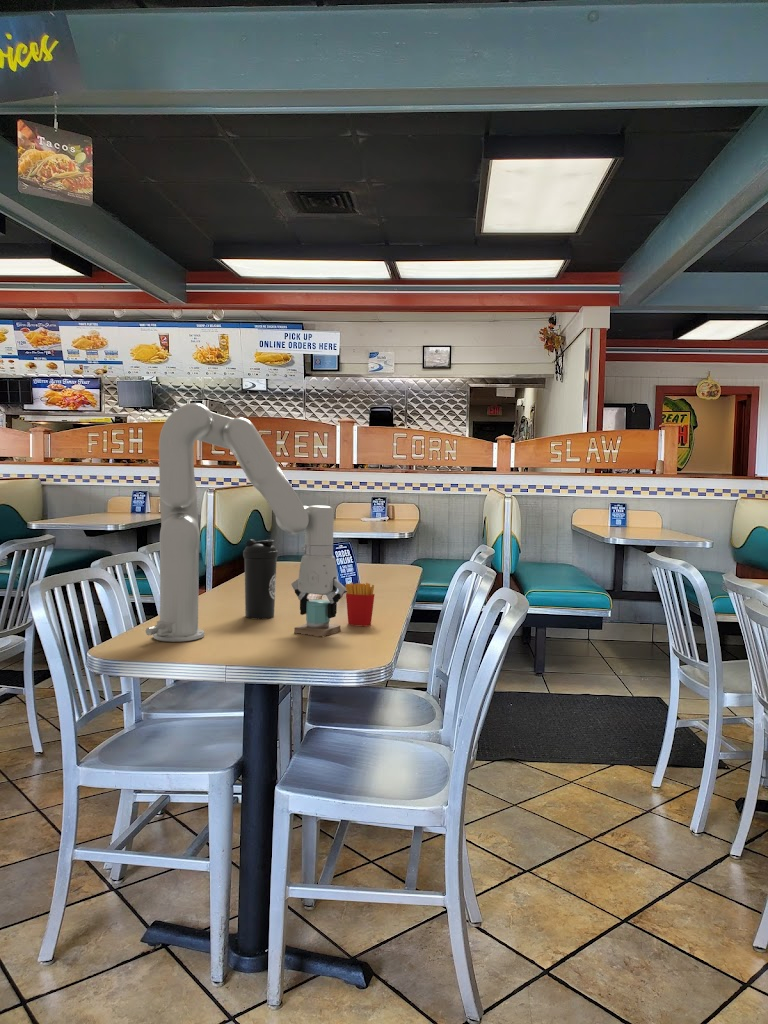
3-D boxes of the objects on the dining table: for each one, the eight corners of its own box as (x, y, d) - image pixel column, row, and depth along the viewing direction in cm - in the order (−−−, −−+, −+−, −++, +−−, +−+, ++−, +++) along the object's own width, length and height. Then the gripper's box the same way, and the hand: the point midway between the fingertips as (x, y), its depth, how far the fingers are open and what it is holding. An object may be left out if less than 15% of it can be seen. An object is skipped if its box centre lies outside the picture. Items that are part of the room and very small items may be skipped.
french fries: (374, 623, 205) (375, 582, 204) (372, 626, 201) (373, 584, 201) (345, 622, 206) (346, 581, 206) (342, 624, 202) (343, 583, 202)
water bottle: (273, 619, 207) (274, 541, 206) (239, 619, 208) (240, 540, 207) (279, 613, 217) (280, 538, 217) (246, 612, 218) (247, 538, 217)
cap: (321, 624, 188) (321, 604, 188) (301, 621, 191) (302, 602, 190) (333, 620, 193) (334, 601, 193) (314, 617, 196) (314, 599, 196)
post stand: (322, 637, 186) (323, 610, 186) (294, 633, 190) (294, 607, 190) (340, 631, 194) (340, 605, 194) (312, 627, 198) (313, 602, 198)
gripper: (284, 550, 192) (283, 614, 192) (339, 554, 184) (338, 621, 185) (299, 548, 198) (298, 610, 199) (354, 552, 191) (352, 616, 191)
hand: (317, 615), depth 192 cm, fingers open, 8 cm apart
